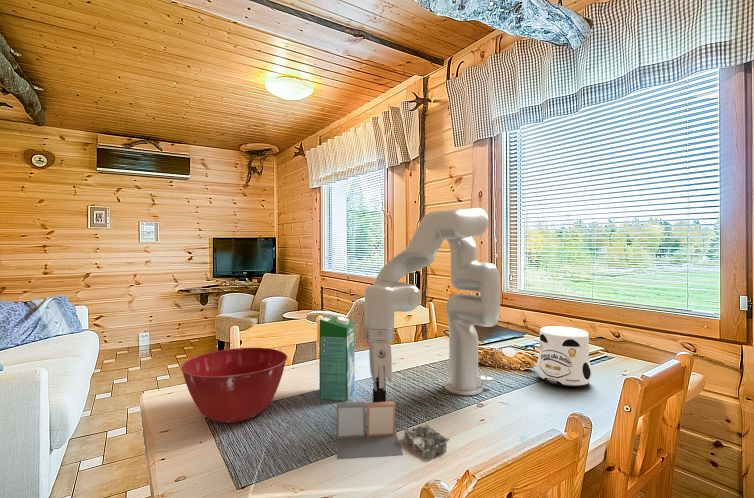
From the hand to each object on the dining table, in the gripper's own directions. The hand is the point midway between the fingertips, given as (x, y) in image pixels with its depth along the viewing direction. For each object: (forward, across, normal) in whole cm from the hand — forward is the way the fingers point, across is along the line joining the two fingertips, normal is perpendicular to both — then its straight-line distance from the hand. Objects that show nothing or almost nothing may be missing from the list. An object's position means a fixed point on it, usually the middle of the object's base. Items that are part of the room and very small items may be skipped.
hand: (379, 404), depth 98 cm
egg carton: (+8, -8, -10) cm, 15 cm away
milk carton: (+7, +26, +11) cm, 29 cm away
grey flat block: (+7, -2, +7) cm, 10 cm away
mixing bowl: (+8, +16, +40) cm, 43 cm away
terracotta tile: (+7, -2, 0) cm, 7 cm away
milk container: (+7, +29, -68) cm, 75 cm away
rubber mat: (+7, -4, +3) cm, 9 cm away
